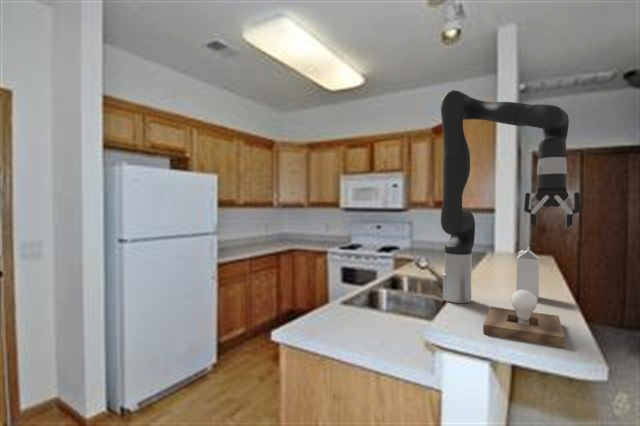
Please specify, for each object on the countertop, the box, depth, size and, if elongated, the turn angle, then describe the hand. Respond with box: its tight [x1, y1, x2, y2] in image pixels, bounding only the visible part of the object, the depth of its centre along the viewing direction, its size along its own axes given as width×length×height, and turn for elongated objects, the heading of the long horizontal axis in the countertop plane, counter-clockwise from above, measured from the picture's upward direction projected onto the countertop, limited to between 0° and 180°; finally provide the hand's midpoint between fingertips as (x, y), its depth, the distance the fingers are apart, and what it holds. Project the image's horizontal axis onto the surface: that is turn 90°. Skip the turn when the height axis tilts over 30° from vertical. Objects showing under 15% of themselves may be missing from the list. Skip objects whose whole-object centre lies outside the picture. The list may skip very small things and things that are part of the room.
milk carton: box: [515, 246, 540, 301], centre depth 135 cm, size 7×7×19 cm
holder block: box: [482, 306, 565, 348], centre depth 100 cm, size 18×20×2 cm
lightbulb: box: [510, 289, 538, 325], centre depth 100 cm, size 6×6×11 cm
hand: (550, 226), depth 109 cm, fingers open, 8 cm apart
